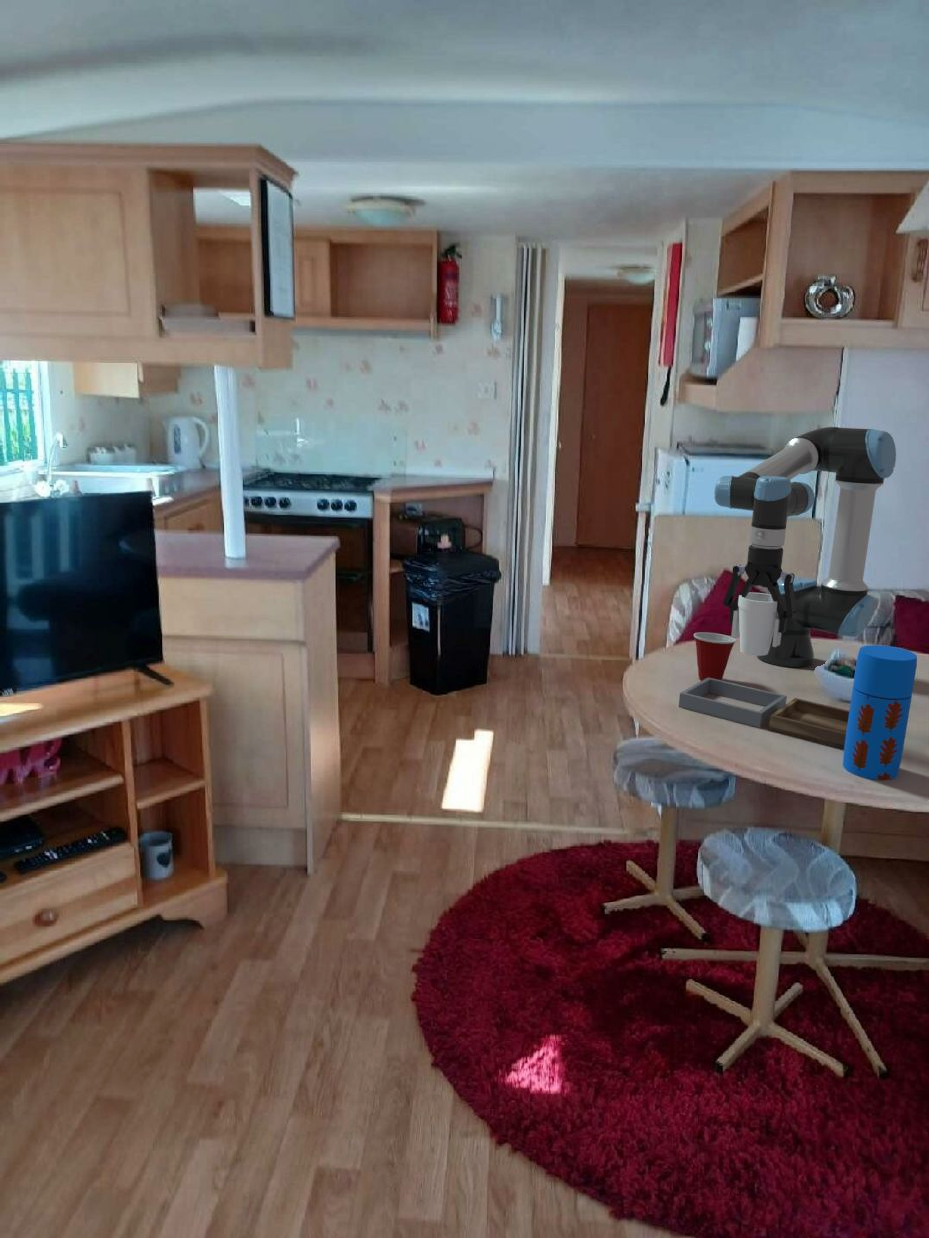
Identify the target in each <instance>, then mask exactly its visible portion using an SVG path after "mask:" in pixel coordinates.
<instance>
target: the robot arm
mask: <svg viewBox="0 0 929 1238" xmlns="http://www.w3.org/2000/svg"><path fill="white" fill-rule="evenodd" d="M896 449H897V448H896V444H895V440H894V438H893V436H892V435H891V434H890V433H889V432H888V431H886V430H879V429H874V428H855V427H853V428H852V427H838V426H826V427H820V428H818V429H817V428H816V429H813V430H811V431H807V432H805V433H802V434H800V435H797V437H794V438H793V439H791V440H789V441H788V442H787V443H786V444H785V446H784V448H783V449H782V450H780V451H778V452H777V453H775V454H773V455H772V456H770V457H768V458H767V459H765V460H764V461H762V462H760V463H759V464H757V465H755V466H754V467H751V468H750V469H748V470H747V471H745V472H743V473H742V474H741V475H739V476H735V475H722V476H721V477H720V478H718V480H717V481H716V484H715V486H714V501H715V503H716V504H717V505H718V506H719V507H724V508H729V509H734V510H735V509H737V510H743V511H750V512H752V518H751V519H752V520H751V527H750V535H749V543H750V545H749V546H748V550H747V560H746V561H747V562H746V564H745V565H741V564H737V565H734V566H732V577H731V579H730V581H729V584H728V588H727V590H726V593H725V596H724V599H723V601H722V605H723V606H724V607H727V608H729V620H728V621H729V623H730V624H732V626H731V634H730V635H731V638H735V639H736V638H738V637H740V633H739V607H738V600H739V595H742V597H744V598H745V597H746V596H747V594H748V593H750V591H751V590H752V589H753V588H754V587H759V586H760V587H763V588H766V589H767V591H768V592H769V594H770V595H771V596H772V599H773V601H776V602H777V613H778V618H776V619H775V628H774V633H773V637H772V641H771V644H770V648H769V651H768V654H767V655H762V656H756V657H757V658H758V660H760V661H762V662H764V663H767V664H771V665H775V666H781V667H785V668H786V667H789V668H800V667H801V668H803V667H809V666H811V665H813V664H814V660H815V653H814V649H813V645H812V644H813V643H812V640H811V631H812V630H817V631H821V632H826V633H830V634H835V635H838V636H839V637H840V636H841V637H842V636H844V637H845V636H846V637H850V638H852V637H853V638H854V637H858V636H860V635H861V634H862V633H863V632H864V631H865V629H866V628H867V627H868V625H869V623H870V621H871V619H872V616H873V612H874V608H875V600H874V599H875V598H874V597H873V596H872V595H870V594H868V592H869V591H868V590H869V587H868V585H867V583H865V581H864V575H865V569H866V561H867V555H868V549H869V547H868V546H869V541H870V533H871V527H872V521H873V513H874V507H875V499H876V493H877V490H878V489H879V488H881V487H882V486H883V485H884V482H885V481H884V480H885V479H886V478H887V479H888V478H890V477H891V476H892V475H893V473H894V468H895V466H896V461H897V450H896ZM814 471H815V472H825V473H826V472H827V473H835V480H834V482H836V483H837V484H838V486H839V487H840V489H839V494H838V495H839V496H838V503H837V510H836V511H837V512H836V519H835V525H834V532H833V541H832V547H831V548H832V549H831V553H830V554H831V555H830V561H829V563H830V564H829V570H828V577H826V578H825V579H824V580H822V581H821V583H820V584H821V585H820V586H818V581H817V580H816V579H814V578H809V577H808V578H807V577H796V576H795V574H794V572H792V573H791V572H790V573H789V572H783V570H782V564H783V555H784V548H783V546H784V545H785V540H786V532H787V531H786V530H787V522H788V517H793V516H796V517H797V516H800V515H802V514H804V513H807V512H808V511H809V510H811V508H812V507H813V505H814V503H815V493H814V490H813V489H812V486H810V485H809V484H807V483H805V482H803V481H799V482H798V481H792V479H794V478H795V477H797V476H799V475H806V474H809V473H811V472H814ZM791 481H792V482H791ZM744 574H746V575H747V580H746V581H745V582H744V585H743V586H742V587H741V589H740V591H739V593H738V594H737V595H736V593H737V589H738V588H739V585H740V581H741V580H742V575H744ZM780 578H781V579H780ZM735 595H736V597H735Z"/></svg>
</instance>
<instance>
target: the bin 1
mask: <svg viewBox="0 0 929 1238" xmlns="http://www.w3.org/2000/svg"><path fill="white" fill-rule="evenodd" d="M707 694H714V695H717V696H722V697H724V698H725V697H726V698H730V699H734V700H736V701H737V700H738V701H741V702H742V701H743V702H746V703H750V704H755V705H758V706H762V707H763V708H762V709H760V710H755V709H752V708H747V707H743V706H740V705H735V704H731V703H728V702H723V701H719V700H715V699H711V698H707V697H704V696H706V695H707ZM678 698H679V701H678V707H679V708H682V709H686V710H688V711H693V712H697V713H700V714H701V713H702V714H705V715H709V716H713V717H716V718H721V719H724V720H728V721H732V722H735V723H739V724H744V725H747V726H751V727H754V728H759V729H761V728H762V727H763V726H764V725H766V724H767V723H769V721H770V715H772V714H773V713H775V712H776V711H777V710H779V709H780V708H782V707H783V706H784V705H786V704H787V698H788V696H787V695H785V694H780V693H776V692H771V691H768V690H763V689H759V688H755V687H749V686H745V685H742V684H737V683H733V682H730V681H729V682H728V681H725V680H722V681H721V680H717V679H713V678H706V679H704V680H703V681H701V680H700V681H698V682H697V683H696V684H693V685H692V686H690V687H688V688H686V689H685V690H683V691H681V692H679V697H678Z"/></svg>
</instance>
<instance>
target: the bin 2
mask: <svg viewBox="0 0 929 1238" xmlns="http://www.w3.org/2000/svg"><path fill="white" fill-rule="evenodd" d="M849 711H850V709H849V710H848V709H844V708H839V707H835V706H831V705H828V704H827V705H826V704H823V703H818V702H814V701H810V700H806V699H802V698H797V697H794V698H793V699H792V700H790V701H789V702H786V705H784V706H783V707H782V708H780V709H779V710H777V711H776V712H775V713H773V714H772V715H770V721H769V722H768V731H769V732H770V731H771V732H774V733H778V734H782V735H784V736H790V737H793V738H796V739H797V738H798V739H801V740H805V741H809V742H812V743H817V744H821V745H824V746H826V747H827V746H829V747H831V748H835V749H840V750H843V751H844V745H845V738H846V732H847V725H848V718H849Z"/></svg>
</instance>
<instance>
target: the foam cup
mask: <svg viewBox="0 0 929 1238" xmlns="http://www.w3.org/2000/svg"><path fill="white" fill-rule="evenodd" d="M738 607H739V608H738V609H739V650H740V653H742V654H746V655H747V656H748V655H749V656H756V657H757V656H762V655H767V654H768V651H769V648H770V644H771V641H772V637H773V633H774V628H775V619H776V618H778V613H777V602H776V601H773V599H772V596H771V594H770V593H762V592H749V593H748V594H747V596H746V597H745V598H744V597H742V595H739V600H738Z"/></svg>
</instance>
